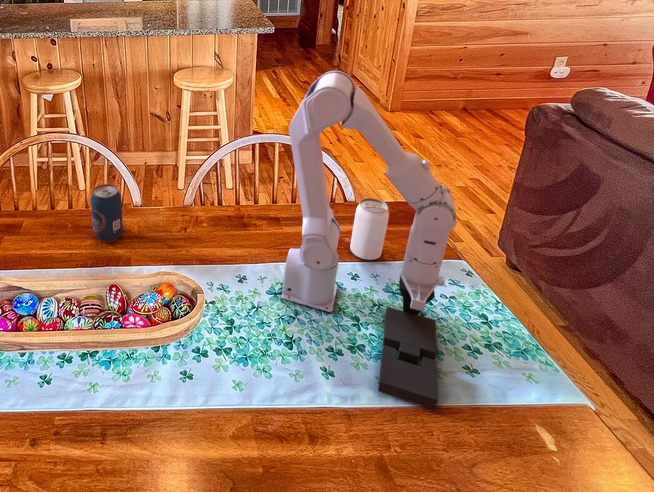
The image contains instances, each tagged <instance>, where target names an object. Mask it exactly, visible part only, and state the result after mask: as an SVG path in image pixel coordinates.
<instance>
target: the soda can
mask: <svg viewBox="0 0 654 492" xmlns="http://www.w3.org/2000/svg"><path fill="white" fill-rule="evenodd" d="M122 205H123V204H122V194H121V193H120V192H119V188H118V187H117V186H116V185H114V184H109V183H106V184H104V183H103V184H100V185H97V186H95V187H94V188H93V190H92V193H91V195H90V208H91V219H92V220H91V221H92V230H93V235H94V236H95V237H96V238H97V240H98V241H101V242H102V243H103V242H104V243H111V242H114V241H117V240H118V239H120V237H121V235H122V234H123V232H124V221H123V220H124V219H123V206H122Z"/></svg>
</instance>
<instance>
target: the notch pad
mask: <svg viewBox="0 0 654 492" xmlns="http://www.w3.org/2000/svg"><path fill="white" fill-rule="evenodd" d="M421 358H422V357H421ZM437 363H438V362H437V360H436V359H435V360H433V359H429V358H426V357H423V358H422V359H421V362H420V365H415V364H411V363H408V362H405V361H402V360H398V358H397V350H396V349H395V348H392V347H389V346H385V345H383V344H382V349H381V355H380V364H379V366H380V367H379V376H378V377H379V378H378V388H377V391H378V392H381V393H383V394H387V395H390V396H393V397H396V398H399V399H403V400H405V401H408V402H411V403H414V404H417V405H419V406H423V407H426V408H429V409H432V410H436V408H437V404H438V401H439V397H438V394H439V393H438V364H437Z"/></svg>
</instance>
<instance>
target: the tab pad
mask: <svg viewBox="0 0 654 492" xmlns="http://www.w3.org/2000/svg"><path fill="white" fill-rule="evenodd" d="M436 323H437V321H436V319H434V318H432V317H431V318H430V317H428V316H427V317H426V316H423V315H419V314H418V315H416V314H412V313H408V312H404V311H403V310H402V309H401V310H400V309H397V308H393V307H389V306H386V309H385V314H384V325H383V337H382V346H383V345H385V346H389V347H392V348H395V349H396V351H397V354H398V355H397V360H401V361H404V362H407V363H410V364H414V365H417V366H419V362H420V358H423V357H426V358H429V359H433V360H436V357H437V353H438V351H437V350H438V349H437V324H436Z"/></svg>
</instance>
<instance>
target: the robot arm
mask: <svg viewBox="0 0 654 492" xmlns="http://www.w3.org/2000/svg"><path fill="white" fill-rule="evenodd" d="M340 122H341V125H340V128H342V129H348V130H357V131H359V132H360V133H361V135H362V136H363V137H364V138H365V139H366V140H367V142H368V143H369V144H370V145H371V146H372V148H373V149H374V150H375V151H376V153H377V154H378V155H379V156H380V158H382V159H383V161H384V163H386V165H387V166H386V169H385V176H386V177H387V178H388V179H389V181H390V183H392V185H393V186H394V187H395V189H396V190H397V191H398V192H399V194H400V195H401V197H402V198H403V199H404V200H405V202H406V203H407V204H408V205H409V206H410V207H411V208H413V209H414V210H415V213H414V218H413V222H412V224H411V226H410V230H409V235H408V238H407V243H406V248H405V253H404V257H403V261H402V266H401V267H400V269H399V280H398V281H399V282H398V288H399V293H400V294H401V297H402V311H404V312H408V313H412V314H416V315H419V314H420V313H421V312H425V308H426V305H427V304H428V303H429V302H431V301H433V299H434V298H435V295H436V293H435V289H436V288H437V286H438V287H444V286H445V285H446V278H445V277H444V276H442V275H440V271H441V268H442V263H443V260H444V257H445V254H446V253H445V252H446V248H447V245H448V241H449V234H450V232H451V231H453V230H454V229H455V227H456V226H457V224H458V221H457V212H456V207H455V202H454V197H453V195H452V193H451V190H450V189H449V188H448V187H446V186H445V184H444V183H442V184H440V183H439V181H438V180H437V179H436V177H435V176H434V175H433V174H432V172H431V171H430V169H431V164H430V163H429V162H428V160H427V159H421V158H420V157H419V155H418V154H416V153H411V152H407V151H405V150H404V148H403V147H402V146H401V144H400V142H399V141H398V140H397V138H396V137H395V135H394V134H393V133H392V131H391V129H390V128H389V126H388V125H387V123H386V122H385V121H384V119H383V118H382V117H381V115H380V114H379V112H378V111H377V109H376V107H375V106H374V104H373V103H372V102H371V101H370V99H369V97H368V96H367V95H366V94H365V92H364V91H363V89H362V88H360V87H359V86H358V85H357V86H355V83H354V80H353V79H352V77H351V76H350V75H349V74H347V73H346V72H343V71H340V70H331V71H327V72H325V73H323V74H322V75H320V76H319V77H318V78H317V79H316V80H315V81H314V82H313V83H312V84H310V86H309V88H308V90H307V92H306V94H305V95H304V97H303V99H302V101H301V103H300V105H299V106H298V108H297V110H296V111H295V113H294V116H293V117H292V119H291V121H290V123H289V125H288V131H289V132H288V133H289V140H290V146H291V153H292V158H293V164H294V170H295V177H296V183H297V189H298V190H297V191H298V197H299V202H300V208H301V214H302V226H301V238H302V243H301V245H300V248H292V247H291V248H289V250H288V253H287V256H286V259H285V260H286V261H285V265H284V274H283V281H282V282H283V283H282V293H281V299H282V300H285V301H289V302H293V303H296V304H298V305H303V306H307V307H309V308H312V309H317V310H321V311H322V312H323V311H324V312H328V313H332V312H333V309H334V304H335V301H336V295H337V291H338V284H336V279H337V274H338V273H337V272H338V267H339V259H340V257H339V254H338V252H337V251H338V250H337V249H338V245H339V238H340V236H341V232H342V231H341V226H340V224H339V223H338V222H337V221H338V220H337V219H336V218H335V216H334V211H333V209H332V208H331V207H330V200H329V192H328V186H327V185H328V184H327V177H326V170H325V164H324V156H323V149H322V142H321V135H320V134H322V132H324V130H326V129H328V128H330V127H332V126H334V125H336V124H339V123H340Z"/></svg>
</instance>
